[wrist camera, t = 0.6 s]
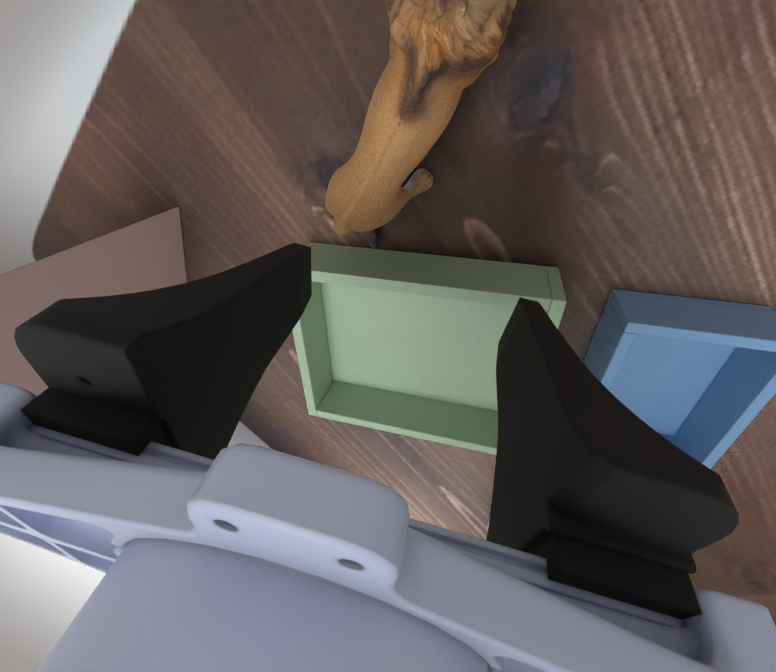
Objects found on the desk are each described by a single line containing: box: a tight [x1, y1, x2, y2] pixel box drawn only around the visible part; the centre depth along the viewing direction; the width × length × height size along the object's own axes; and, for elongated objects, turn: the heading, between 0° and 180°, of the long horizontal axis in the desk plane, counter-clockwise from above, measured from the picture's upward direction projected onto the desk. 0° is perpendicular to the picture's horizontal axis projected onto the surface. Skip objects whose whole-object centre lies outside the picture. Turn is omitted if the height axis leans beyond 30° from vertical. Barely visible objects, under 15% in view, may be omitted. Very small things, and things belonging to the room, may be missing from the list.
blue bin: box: [583, 289, 776, 469], centre depth 21 cm, size 10×8×4 cm
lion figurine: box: [325, 0, 517, 248], centre depth 15 cm, size 15×5×9 cm, turn 162°
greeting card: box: [0, 206, 187, 396], centre depth 23 cm, size 11×7×15 cm, turn 130°
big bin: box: [293, 242, 567, 455], centre depth 24 cm, size 15×12×4 cm
